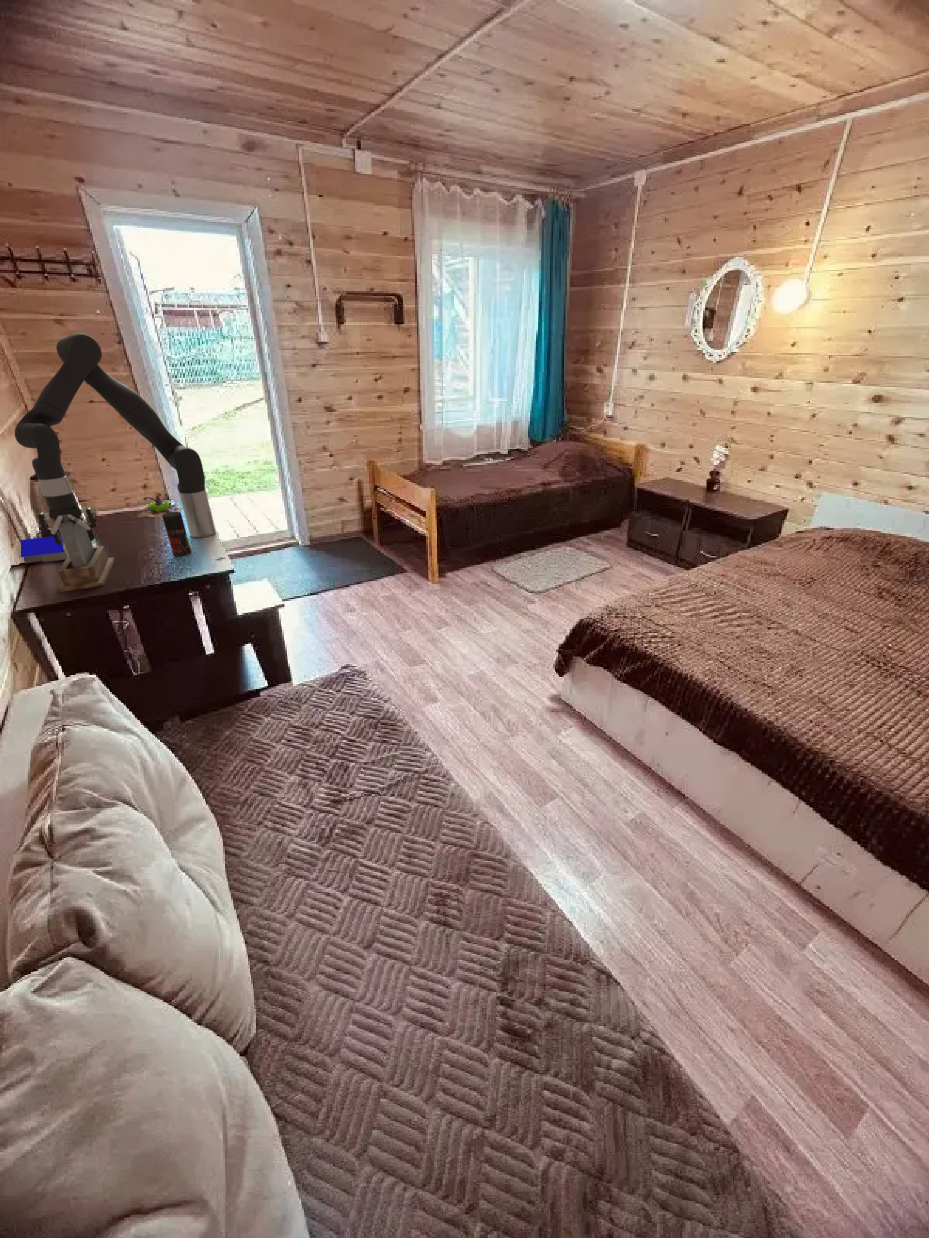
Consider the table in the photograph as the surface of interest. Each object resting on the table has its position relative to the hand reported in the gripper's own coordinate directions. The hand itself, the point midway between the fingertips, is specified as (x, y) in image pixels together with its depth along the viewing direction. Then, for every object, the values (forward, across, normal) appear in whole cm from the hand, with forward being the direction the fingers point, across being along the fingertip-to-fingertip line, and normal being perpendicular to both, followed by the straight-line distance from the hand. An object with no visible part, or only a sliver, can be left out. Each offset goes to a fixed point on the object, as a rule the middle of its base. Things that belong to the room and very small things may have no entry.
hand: (76, 542), depth 167 cm
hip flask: (+11, 0, 0) cm, 11 cm away
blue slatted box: (+12, +20, -27) cm, 35 cm away
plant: (+12, -18, -66) cm, 69 cm away
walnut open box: (+11, 0, 0) cm, 11 cm away
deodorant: (+12, -28, -8) cm, 31 cm away
